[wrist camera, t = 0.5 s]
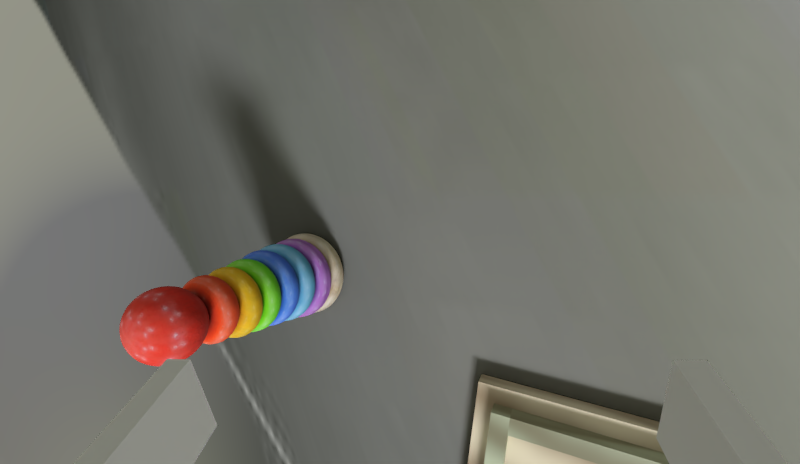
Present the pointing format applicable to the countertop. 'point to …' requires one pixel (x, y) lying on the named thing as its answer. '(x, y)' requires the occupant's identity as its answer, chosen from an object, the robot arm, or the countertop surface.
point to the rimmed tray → (555, 429)
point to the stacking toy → (233, 300)
